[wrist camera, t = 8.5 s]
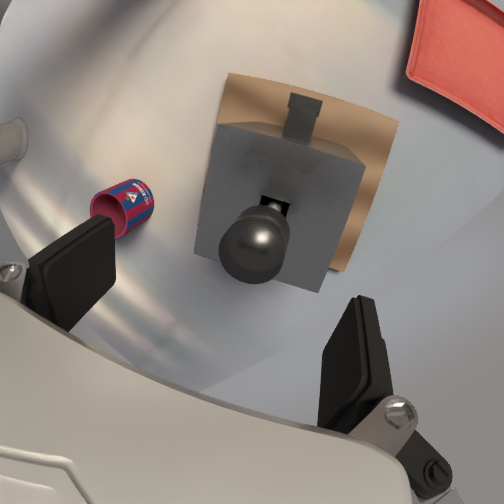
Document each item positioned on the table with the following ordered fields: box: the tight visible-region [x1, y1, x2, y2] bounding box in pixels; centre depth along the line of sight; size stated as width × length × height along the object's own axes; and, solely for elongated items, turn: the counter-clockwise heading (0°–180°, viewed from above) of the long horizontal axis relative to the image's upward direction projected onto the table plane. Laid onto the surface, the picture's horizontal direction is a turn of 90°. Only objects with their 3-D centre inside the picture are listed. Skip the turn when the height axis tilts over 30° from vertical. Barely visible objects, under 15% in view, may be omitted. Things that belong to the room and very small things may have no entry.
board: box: [197, 73, 399, 272], centre depth 34 cm, size 20×20×2 cm
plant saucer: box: [406, 0, 504, 134], centre depth 20 cm, size 18×18×3 cm
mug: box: [90, 179, 154, 239], centre depth 39 cm, size 7×10×7 cm
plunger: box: [218, 196, 290, 284], centre depth 23 cm, size 8×8×21 cm
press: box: [194, 92, 366, 293], centre depth 26 cm, size 13×10×15 cm
